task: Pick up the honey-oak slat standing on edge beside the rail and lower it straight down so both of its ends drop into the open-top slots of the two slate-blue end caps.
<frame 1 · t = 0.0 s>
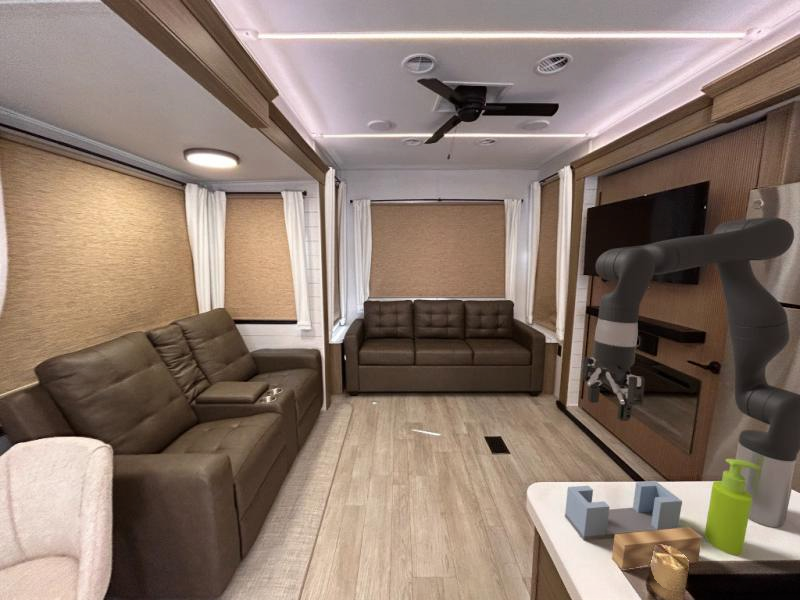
hand: (607, 410, 69), 29 cm above the counter, tool pointing down, fingers open, 8 cm apart
soap dispenser: (725, 544, 69), on the counter
end caps: (619, 524, 73), on the counter
slat: (654, 561, 65), on the counter
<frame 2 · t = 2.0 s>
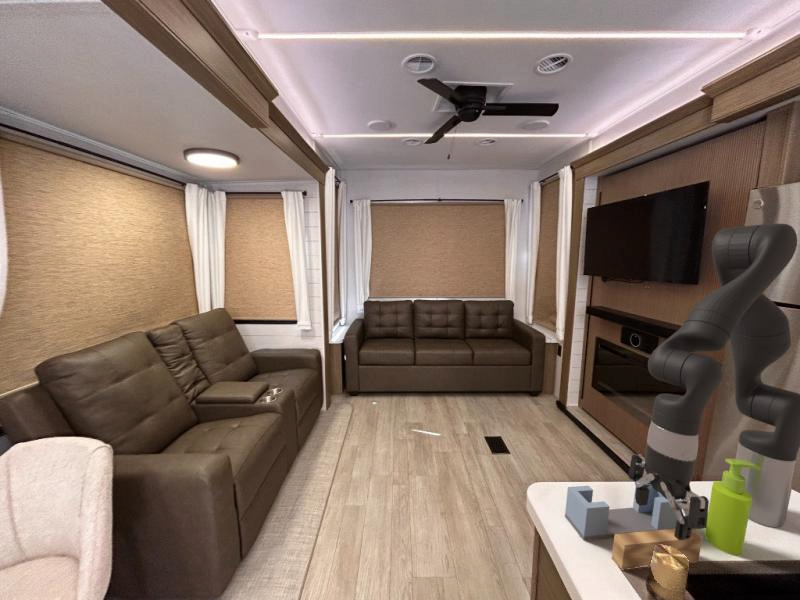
hand: (659, 520, 63), 9 cm above the counter, tool pointing down, fingers open, 8 cm apart
nothing on the counter moved.
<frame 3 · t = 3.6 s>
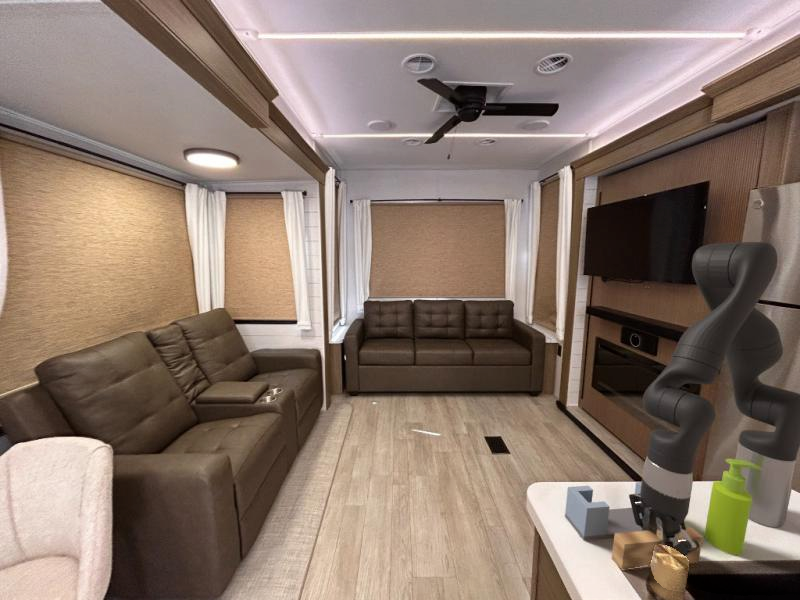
hand: (655, 557, 65), 1 cm above the counter, tool pointing down, fingers closed on slat, 2 cm apart
slat: (654, 560, 65), on the counter, touching gripper
everything else where it was.
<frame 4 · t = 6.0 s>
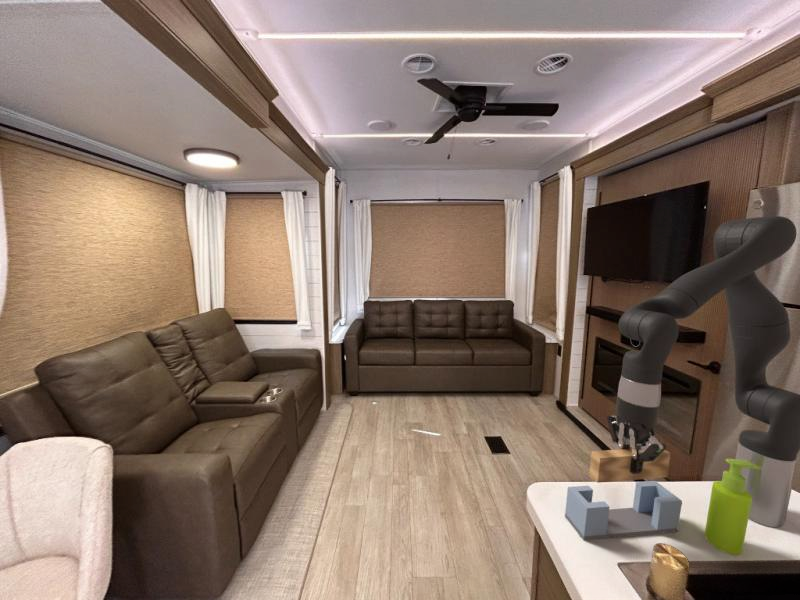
hand: (629, 468, 71), 15 cm above the counter, tool pointing down, fingers closed on slat, 2 cm apart
slat: (628, 476, 71), point 13 cm above the counter, touching gripper
everything else where it was.
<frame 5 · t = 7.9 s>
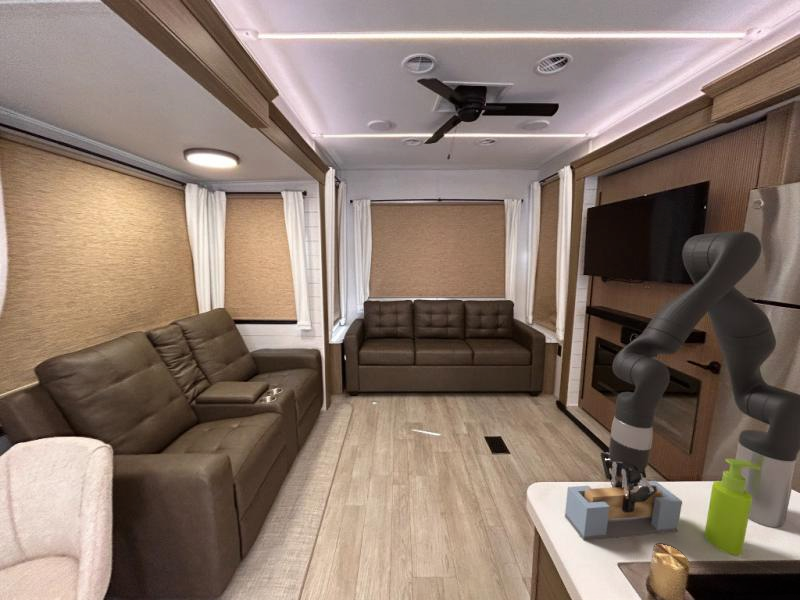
hand: (621, 506, 73), 5 cm above the counter, tool pointing down, fingers closed on slat, 2 cm apart
slat: (620, 513, 73), point 3 cm above the counter, touching gripper
everything else where it was.
when the fingers open (3 cm above the counter, at t = 8.7 s): slat stays where it is, resting on end caps.
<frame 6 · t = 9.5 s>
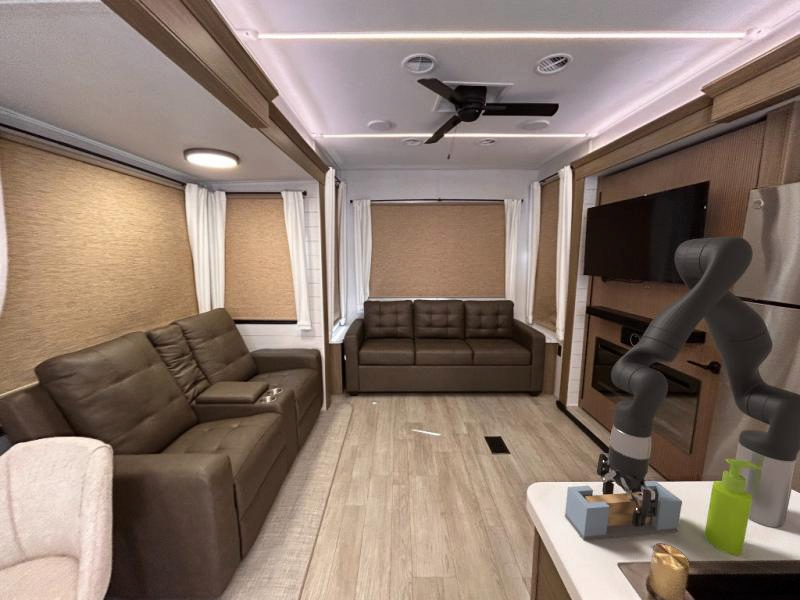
hand: (621, 510, 73), 4 cm above the counter, tool pointing down, fingers open, 8 cm apart
slat: (620, 520, 73), point 1 cm above the counter, touching end caps
everything else where it was.
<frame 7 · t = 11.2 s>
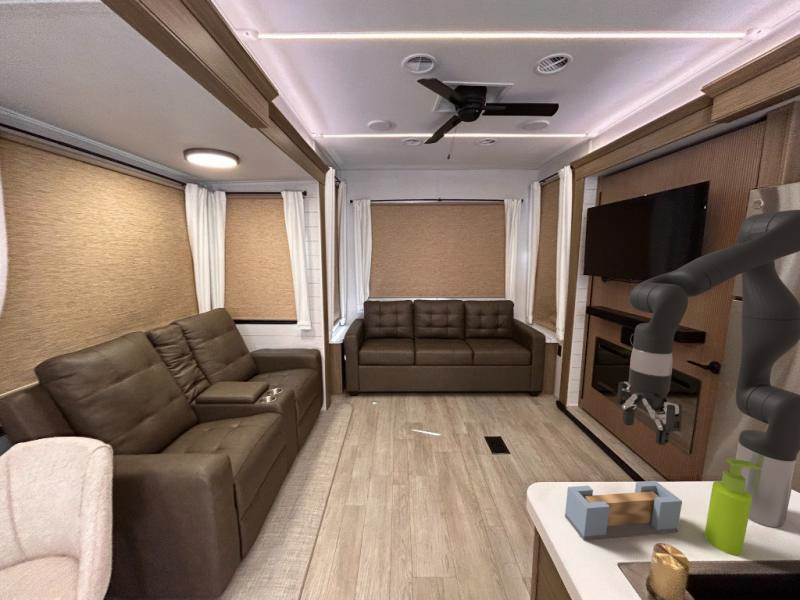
hand: (643, 433, 73), 22 cm above the counter, tool pointing down, fingers open, 8 cm apart
nothing on the counter moved.
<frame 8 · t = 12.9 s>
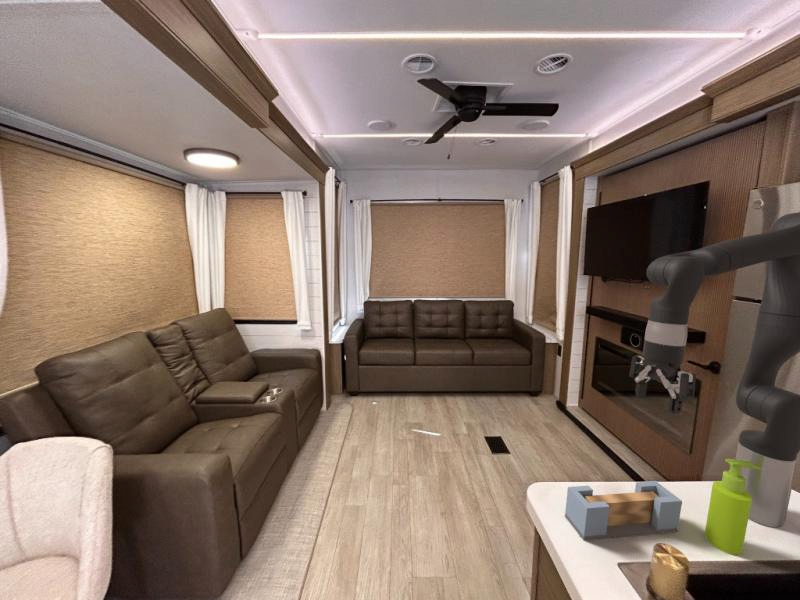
hand: (656, 404, 75), 28 cm above the counter, tool pointing down, fingers open, 8 cm apart
nothing on the counter moved.
at the end: slat 0.0 cm off-centre on the end caps, point 1.0 cm above the end caps's base; slat tilted 0°; the gripper is holding nothing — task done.
